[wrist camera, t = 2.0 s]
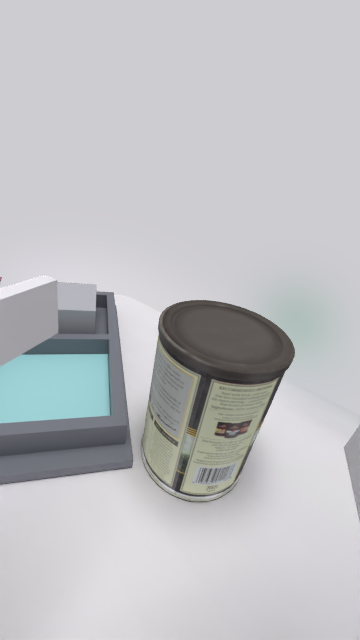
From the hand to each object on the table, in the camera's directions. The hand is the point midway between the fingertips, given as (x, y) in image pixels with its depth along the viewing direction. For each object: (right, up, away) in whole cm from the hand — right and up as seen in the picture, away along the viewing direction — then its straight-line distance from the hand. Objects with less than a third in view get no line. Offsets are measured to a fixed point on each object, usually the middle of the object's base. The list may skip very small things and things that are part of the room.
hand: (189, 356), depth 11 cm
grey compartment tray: (-16, -4, +24) cm, 29 cm away
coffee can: (+1, -12, +16) cm, 20 cm away
